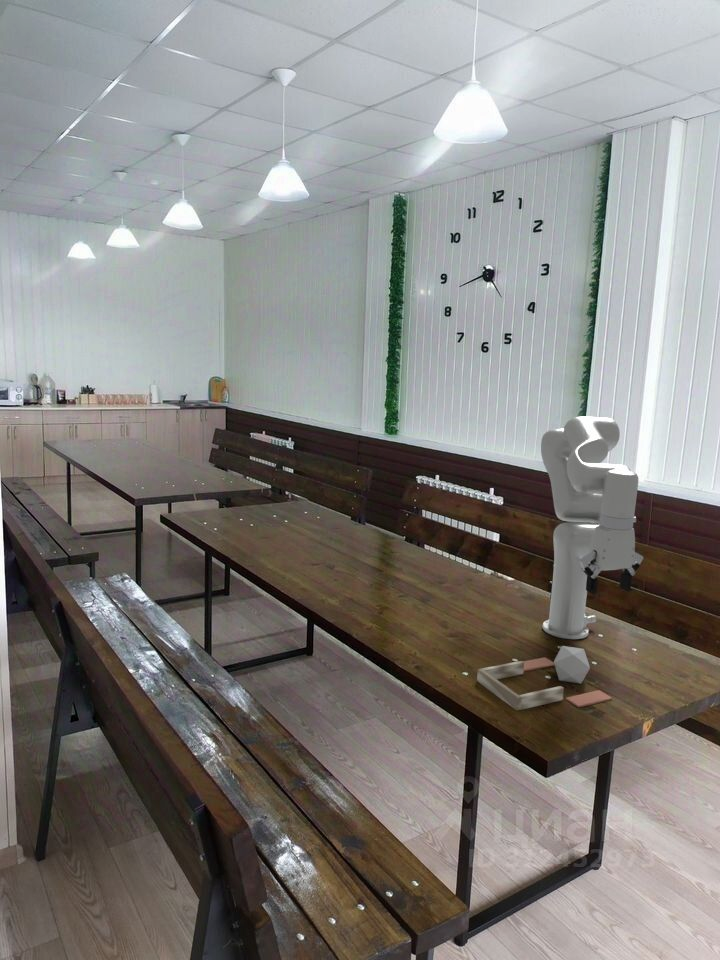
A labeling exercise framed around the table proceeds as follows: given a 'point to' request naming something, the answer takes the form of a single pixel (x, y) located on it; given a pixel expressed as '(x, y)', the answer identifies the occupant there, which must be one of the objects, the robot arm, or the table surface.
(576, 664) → the die
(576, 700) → the mat
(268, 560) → the table surface
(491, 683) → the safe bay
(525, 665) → the mat
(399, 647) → the table surface
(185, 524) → the table surface
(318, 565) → the table surface
